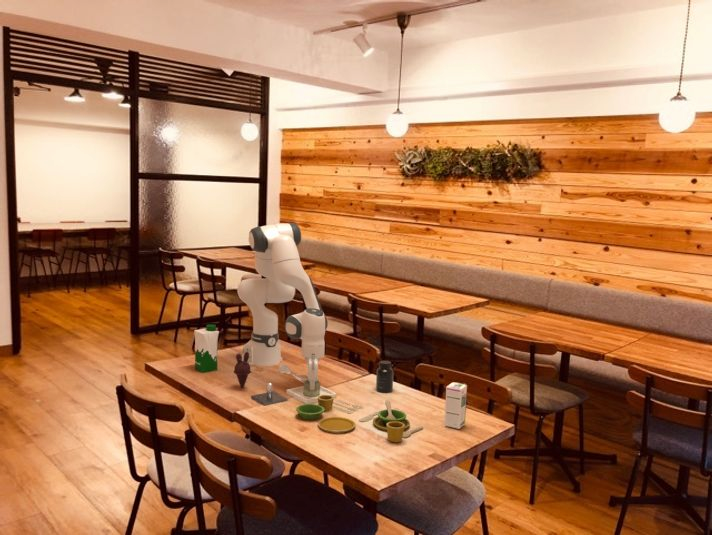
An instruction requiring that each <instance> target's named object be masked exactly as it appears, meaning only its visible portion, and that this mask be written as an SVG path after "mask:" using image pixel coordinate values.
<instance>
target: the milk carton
mask: <svg viewBox="0 0 712 535" xmlns="http://www.w3.org/2000/svg"><path fill="white" fill-rule="evenodd" d="M216 326H217V325H216V324H212V323H211V324H206V327H205V328H199V329H195V330H194V332H193V333H194V342H195V344H194V370H196V371H198V372H199V373H201V374H205V373H210V372H214V371H215V372H216V371H218V339H219V334H220V331H219V330H217V328H216Z"/></svg>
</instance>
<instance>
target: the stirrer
mask: <svg viewBox="0 0 712 535" xmlns="http://www.w3.org/2000/svg"><path fill="white" fill-rule="evenodd" d="M278 372H279V373H281V374H287V375H288V376H289V375H292V376H293V377H294V378H295V380H296V379H297V380H298V381H300V382H302V383H304V381H306V380H307V379H308V374H299V373H298V374H297V373H293V372H292V370H291V369H290V366H288V365H287V364H281V365H279V367H278Z"/></svg>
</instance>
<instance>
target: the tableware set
mask: <svg viewBox="0 0 712 535" xmlns="http://www.w3.org/2000/svg"><path fill="white" fill-rule="evenodd" d="M334 399H335V398H334V397H333V396H331V395H320V396H318V402H317V403H318V404H316V403H312V404H305V403H304V404H300V405H298V406H296V408H295V409H296V412H297V413H298V415H299V417H300V418H301V419H303V420H307V421H314V420H315V421H316V420H318V419H319V418H320V417H321V415H322V414H323V413H326V412H331V411H332V409H336V411H339V412H341V413H345V414H347V415H351V414H353V413H355V412H357V411H359V410H363V409H364V406H363V405H360V406H359V404H352V403H349V404H348V402H347V401H343V400H341V399H339V400H336V401H337V402H335V401H334ZM346 402H347V403H346ZM343 404H345V405H347V406H345V405H343ZM350 404H351V405H352V406H351V407H349V408H348V406H350ZM358 407H359V408H358ZM385 407H386V409H382V410H379V411H376V412H373V413H372V414H369V415H367V416H365V417H362V418H359V419H358V422H360V423H367V422H369V421H370V420H372V423H373V425H374V426H375V427H376V428H378V430H381V431H386V433H387V439H388V441H389V442H392V443H400V442H402V441H403V440H402V439H403V438H404V439H406V438H409V437H411V435H412V434H414V433H416V432H420V431H421V430H424V425H418V426H416V427H414V428H412V429H410V430H408V431H405V430H406V429H408V427H410V425H411V422H410V420H408V419H407V414H406V413H405V412H403V411H401V410H398V409H392V402H391V400H389V399H387V400H386V399H385ZM349 410H350V411H349ZM352 411H353V412H352ZM375 416H376V417H375ZM374 417H375V418H374ZM317 425H318V427H319V428H320V429H321V430H322V431H324V432H326V433H331V434H346V433H349V432H351V431H352V430H353V429H354V428H355V427H356V422H355V421H354V420H352V419H349V418H347V417H343V416H342V417H339V416H331V417H325V418H322V419H319V421H318V422H317Z"/></svg>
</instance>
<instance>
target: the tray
mask: <svg viewBox="0 0 712 535" xmlns="http://www.w3.org/2000/svg"><path fill="white" fill-rule="evenodd" d="M303 389H304V385H303V386H297V387H293V388H287V389H286V394H287V395H288V396H291V397H292V398H294V399H296V400H298V401H299V402H301V403H304V404H316V403H318V396H317V397H307V396H304V394H303ZM320 395H331V396H333V397H334V399H337V397H338V396H337V395H338V394H337V393H336V392H334V391H332V390H330V389H328V388H326V387H323V386H322V385H320ZM320 395H319V396H320Z"/></svg>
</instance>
